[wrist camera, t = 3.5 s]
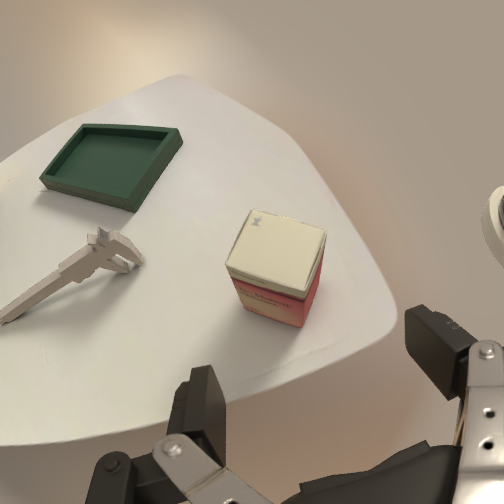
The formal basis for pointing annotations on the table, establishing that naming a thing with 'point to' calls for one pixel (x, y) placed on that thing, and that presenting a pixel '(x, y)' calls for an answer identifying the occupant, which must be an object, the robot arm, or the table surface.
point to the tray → (112, 163)
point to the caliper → (78, 269)
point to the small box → (277, 266)
